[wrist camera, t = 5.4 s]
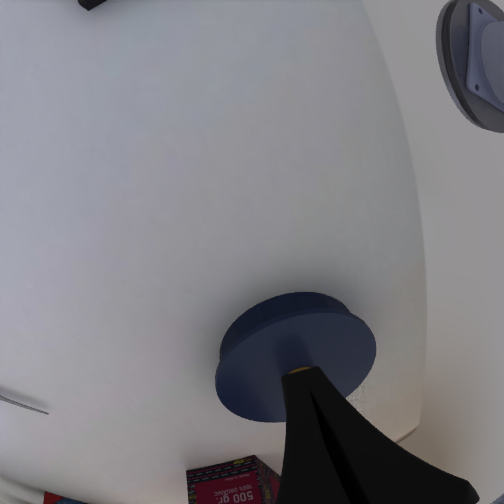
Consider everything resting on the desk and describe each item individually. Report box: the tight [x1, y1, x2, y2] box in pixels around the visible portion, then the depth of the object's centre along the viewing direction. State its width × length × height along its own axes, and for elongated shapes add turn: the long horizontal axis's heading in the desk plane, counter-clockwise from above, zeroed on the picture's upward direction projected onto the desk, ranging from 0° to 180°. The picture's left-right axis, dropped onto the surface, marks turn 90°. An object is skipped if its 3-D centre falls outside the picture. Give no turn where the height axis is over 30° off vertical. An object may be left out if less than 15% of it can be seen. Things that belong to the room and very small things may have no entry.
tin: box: [220, 292, 350, 360], centre depth 21 cm, size 10×10×2 cm
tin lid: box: [215, 308, 376, 423], centre depth 18 cm, size 11×11×4 cm
